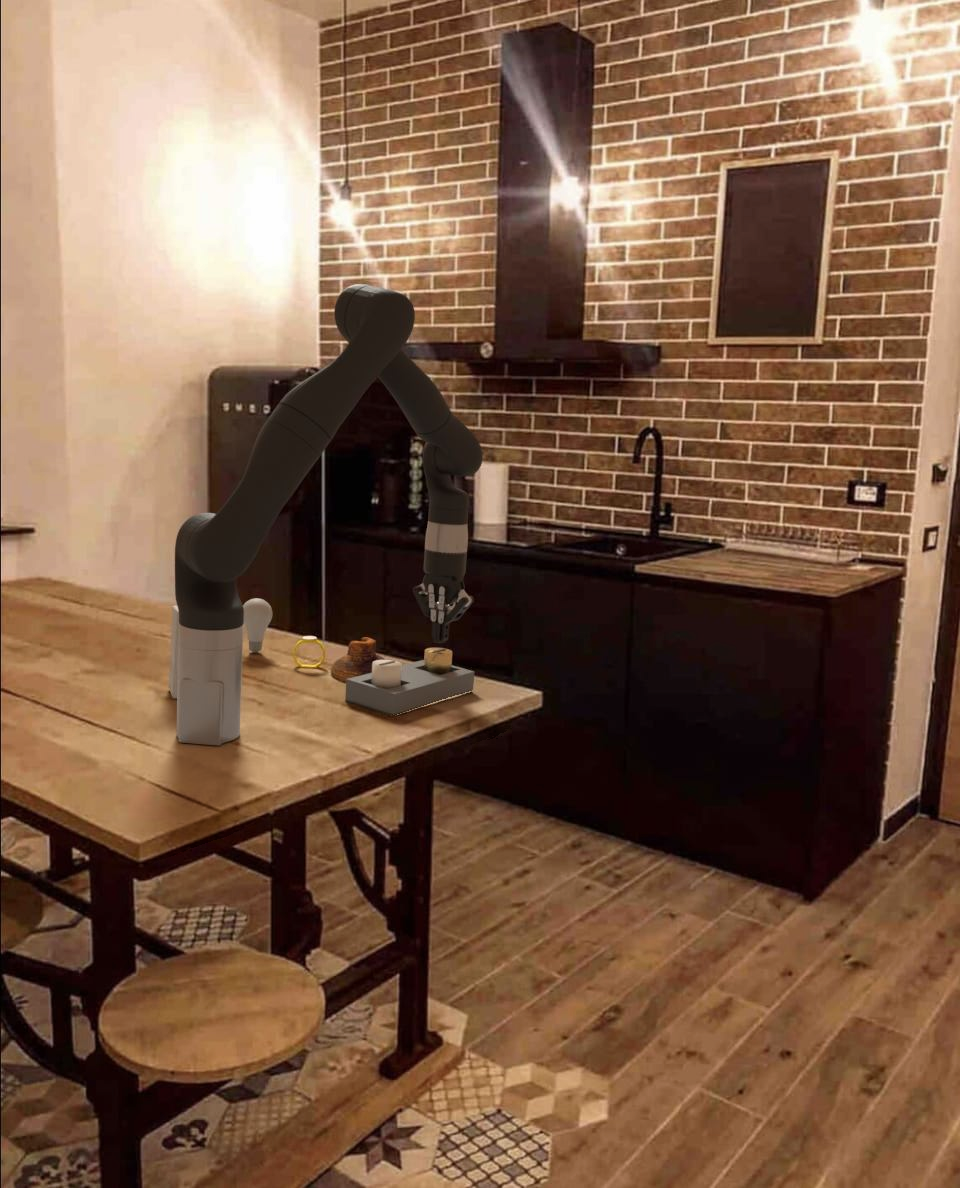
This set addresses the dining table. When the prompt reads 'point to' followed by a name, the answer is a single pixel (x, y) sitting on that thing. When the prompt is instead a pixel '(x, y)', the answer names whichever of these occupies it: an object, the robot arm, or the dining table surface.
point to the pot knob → (386, 673)
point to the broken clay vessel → (356, 660)
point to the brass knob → (438, 660)
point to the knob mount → (408, 689)
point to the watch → (309, 640)
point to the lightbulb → (256, 622)
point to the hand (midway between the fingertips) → (439, 641)
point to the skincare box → (174, 652)
